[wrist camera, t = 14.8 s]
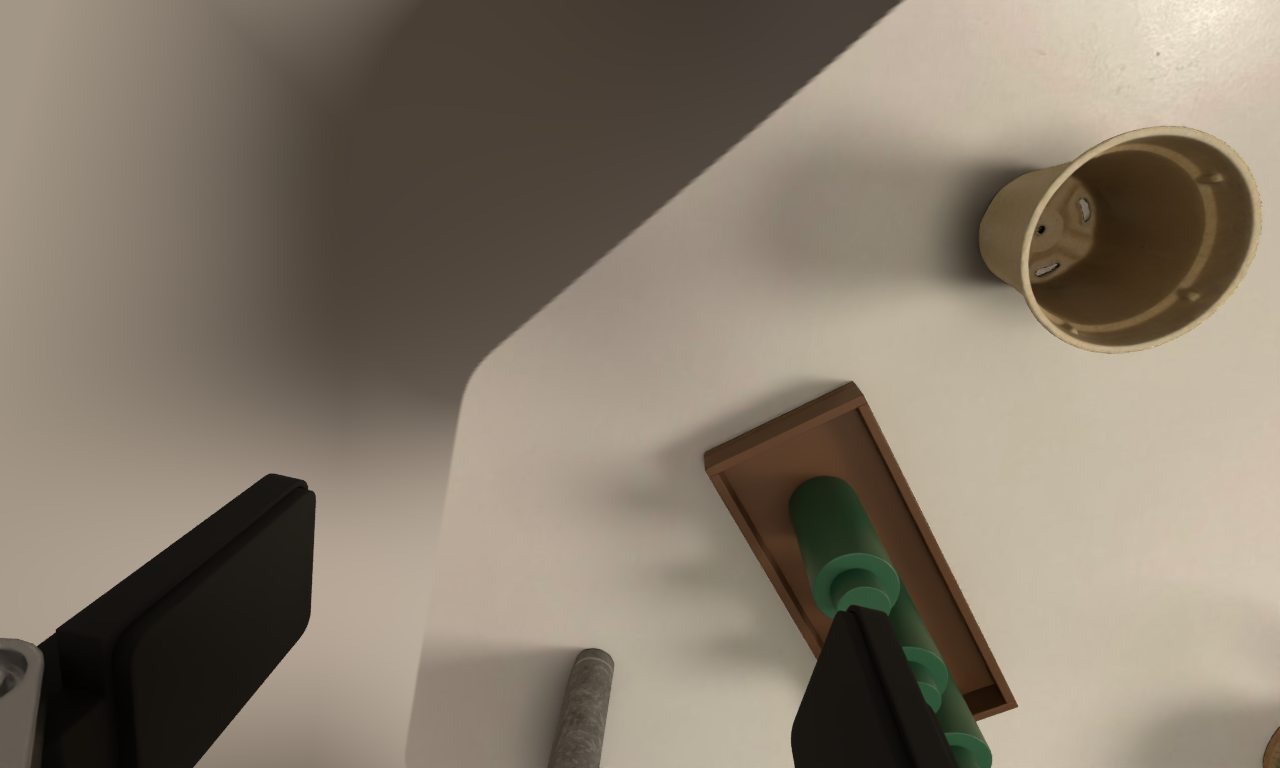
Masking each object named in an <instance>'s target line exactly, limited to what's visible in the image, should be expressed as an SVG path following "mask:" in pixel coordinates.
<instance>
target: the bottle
mask: <svg viewBox="0 0 1280 768" xmlns="http://www.w3.org/2000/svg"><path fill="white" fill-rule="evenodd" d="M789 514H790V518H791V521H792V525H793V528H794V532H795V535H796V539H797V542H798V546H799V549H800V553H801V556H802V560H803V563H804V567H805V570H806V573H807V577H808V580H809V584H810V587H811V591H812V594H813V598H814V601H815V603H816V605H817V606H818V608H819V609H820V610H821V611H822V612H823V613H824V614H825V615H826V616H828V617H829V618H831V619H834V617H835V615H836V613H837V612H838V611H840V610H841V611H846V610H847V608H848V607H849V606H850V605H858V606H862V607H867V608H871V609H875V610H880V611H883V612H885V613H886V614H887V615H888V616H889V614H890V610H891V608H892V607H893V606H894V604H895V602H896V601H897V598H898V596H899V591H900V581H899V577H898V574H897V572H896V570H895V568H894V566H893V564H892V562H891V560H890V558H889V556H888V554H887V552H886V550H885V548H884V546H883V545H882V543H881V541H880V539H879V537H878V535H877V533H876V531H875V529H874V527H873V525H872V523H871V521H870V519H869V517H868V515H867V513H866V511H865V509H864V507H863V505H862V503H861V501H860V499H859V497H858V496H857V494H856V492H855V490H854V489H853V488H852V486H850V485H849V484H848V483H847V482H845V481H843V480H841V479H839V478H836V477H831V476H820V477H815V478H812V479H809V480H807V481H805V482H804V483H802V484H801V485H800V486H799V487H798V488H797V489H796V490H795V491H794V493H793V494H792V496H791V499H790V502H789Z"/></svg>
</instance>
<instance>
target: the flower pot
mask: <svg viewBox="0 0 1280 768" xmlns="http://www.w3.org/2000/svg"><path fill="white" fill-rule="evenodd" d="M1083 198H1084V199H1085V201H1086V202H1087V203H1088V205H1089V210H1090V215H1089V219H1088V220H1087V221H1084V217H1083V213H1082V208H1081V205H1080V203H1079V201H1080V200H1081V199H1083ZM1261 203H1262V202H1261V200H1260V195H1259V192H1258V188H1257V185H1256V182H1255V179H1254V177H1253V175H1252V173H1251V171H1250V169H1249V167H1248V166H1247V165H1246V163H1245V162H1244V160H1243V159H1242V158H1241V157H1240V156H1239V155H1238V153H1236V152H1235V150H1233V149H1232V148H1231V147H1230V146H1228V145H1227V144H1226V143H1225V142H1223V141H1222V140H1220V139H1218V138H1216V137H1214V136H1212V135H1210V134H1207V133H1205V132H1202V131H1199V130H1195V129H1192V128H1187V127H1179V126H1160V127H1149V128H1142V129H1139V130H1134V131H1130V132H1126V133H1123V134H1120V135H1117V136H1115V137H1112V138H1110V139H1108V140H1105V141H1103V142H1101V143H1099V144H1098V145H1096V146H1094V147H1092V148H1091V149H1089V150H1087V151H1086V152H1084V153H1083V154H1081V155H1080V156H1079V157H1077V158H1076V159H1075V160H1073V161H1072V162H1068V163H1064V164H1061V165H1057V166H1053V167H1049V168H1046V169H1042V170H1037V171H1033V172H1030V173H1027V174H1024V175H1022V176H1020V177H1018V178H1016V179H1015V180H1013V181H1011V182H1010V183H1009V184H1007V185H1006V186H1005V187H1003V188H1002V189H1001V190H1000V191H999V192H998V193H997V194H996V196H995V197H994V199H993V200H992V202H991V204H990V205H989V207H988V209H987V211H986V213H985V214H984V217H983V219H982V221H981V223H980V228H979V247H980V252H981V255H982V258H983V260H984V262H985V263H986V265H987V266H988V268H989V269H990V270H991V271H992V272H993V273H994V274H995V275H996V276H997V277H998V278H1000V279H1001V280H1003V281H1004V282H1006V283H1008V284H1009V285H1011V286H1012V287H1013V288H1015V289H1016V290H1017V291H1019V292H1020V293H1021V294H1023V295H1024V298H1025V301H1026V303H1027V305H1028V307H1029V309H1030V310H1031V312H1032V313H1033V315H1034V316H1035V318H1036V319H1037V320H1038V321H1039V322H1040V324H1041V325H1042V326H1043V327H1044V328H1045V329H1047V330H1048V331H1049V332H1050V333H1051V334H1053V335H1054V336H1056V337H1057V338H1059V339H1061V340H1062V341H1064V342H1066V343H1068V344H1070V345H1073V346H1075V347H1078V348H1081V349H1084V350H1087V351H1092V352H1099V353H1108V354H1116V353H1127V352H1135V351H1141V350H1144V349H1148V348H1152V347H1156V346H1159V345H1161V344H1164V343H1166V342H1168V341H1171V340H1173V339H1175V338H1177V337H1179V336H1181V335H1183V334H1185V333H1187V332H1189V331H1191V330H1192V329H1194V328H1195V327H1196V326H1198V325H1200V324H1201V323H1202V322H1203V321H1205V320H1206V319H1208V318H1209V317H1210V316H1212V315H1213V314H1214V313H1215V312H1216V311H1217V309H1218V308H1219V307H1220V306H1222V305H1223V304H1224V303H1225V301H1226V300H1227V299H1228V298H1229V297H1230V296H1231V295H1232V294H1233V293H1234V291H1235V289H1236V288H1237V287H1238V285H1239V284H1240V283H1241V281H1242V279H1243V278H1244V276H1245V275H1246V272H1247V271H1248V269H1249V266H1250V264H1251V262H1252V260H1253V259H1254V257H1255V253H1256V251H1257V246H1258V243H1259V238H1260V235H1261V229H1262V208H1261V207H1262V205H1261ZM1040 226H1043V227H1044V228H1045V230H1044V232H1043V233H1042V234H1040V233H1038V231H1037V229H1038V228H1039V227H1040ZM1055 263H1058V264H1059V267H1056V268H1055V269H1054V270H1053V271H1051V272H1049V273H1047V274H1045V275H1042V276H1037V275H1036V273H1037V270H1038V269H1040V268H1045V267H1048V266H1050V265H1052V264H1055Z"/></svg>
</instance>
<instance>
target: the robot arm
mask: <svg viewBox="0 0 1280 768" xmlns="http://www.w3.org/2000/svg"><path fill="white" fill-rule="evenodd" d="M315 507H316V496H315V493H314V492H313V491H310V490H308V485H307V483H306V482H305V481H304V480H300V479H296V478H291V477H287V476H283V475H278V474H268V475H266V476H265V477H263V478H262V479H260V480H259V481H258V482H256V483H255V484H254V485H252V486H251V487H250V488H248V489H247V490H245V491H244V492H243V493H241V494H240V495H239V496H238V497H236V498H235V499H233V500H232V501H230V502H229V503H228V504H226V505H225V506H224V507H222V508H221V509H219V510H218V511H217V512H216V513H214V514H213V515H211V516H210V517H209V518H208V519H206V520H204V521H203V522H202V523H200V524H199V525H198V526H196V527H195V528H194V529H192V530H191V531H189V532H188V533H187V534H185V535H184V536H183V537H182V538H180V539H179V540H177V541H176V542H174V543H173V544H172V545H170V546H169V547H168V548H166V549H165V550H164V551H162V552H161V553H159V554H158V555H157V556H156V557H154V558H153V559H151V560H150V561H149V562H147V563H146V564H145V565H143V566H142V567H141V568H139V569H138V570H136V571H135V572H134V573H132V574H131V575H130V576H128V577H127V578H126V579H124V580H123V581H121V582H120V583H119V584H117V585H116V586H115V587H113V588H112V589H110V590H109V591H108V592H107V593H105V594H104V595H102V596H101V597H99V598H98V599H97V600H95V601H94V602H93V603H91V604H90V605H89V606H87V607H86V608H84V609H83V610H82V611H80V612H79V613H78V614H76V615H75V616H74V617H72V618H71V619H70V620H68V621H67V622H65V623H64V624H63V625H61V626H60V627H59V628H57V629H56V633H54V634H53V635H52V636H50V637H49V638H48V639H46V640H45V641H44V642H42V643H41V644H39V645H38V646H37V647H36V646H35V645H34V644H32V643H29V642H26V641H23V640H20V639H6V638H0V768H193V767H194V766H195V765H196V763H197V762H198V761H199V760H200V759H201V758H202V756H203V755H204V754H205V753H206V752H207V750H208V749H209V748H210V747H211V745H212V744H213V743H214V742H215V741H216V739H217V738H218V737H219V736H220V734H221V733H222V732H223V731H224V730H225V728H226V727H227V726H228V725H229V724H230V722H231V721H232V720H233V719H234V718H235V716H236V715H237V714H238V713H239V711H240V710H241V709H242V708H243V706H244V705H245V704H246V703H247V702H248V700H249V699H250V698H251V697H252V696H253V694H254V693H255V692H256V691H257V690H258V688H259V687H260V686H261V685H262V684H263V682H264V681H265V680H266V679H267V677H268V676H269V675H270V674H271V673H272V671H273V670H274V669H275V668H276V666H277V665H278V664H279V663H280V662H281V660H282V659H283V658H284V657H285V656H286V654H287V653H288V652H289V651H290V649H291V648H292V647H293V646H294V645H295V643H296V642H297V641H298V640H299V639H300V637H301V636H302V634H303V633H304V631H305V629H306V627H307V625H308V622H309V619H310V613H311V593H312V571H313V549H314V529H315ZM791 747H792V753H793V759H794V765H795V768H960V767H959V765H958V763H957V761H956V759H955V756H954V754H953V752H952V750H951V747H950V745H949V743H948V741H947V739H946V736H945V734H944V732H943V730H942V727H941V725H940V723H939V721H938V718H937V716H936V714H935V712H934V711H933V709H932V707H931V706H930V705H929V704H928V703H926V701H925V699H924V696H923V694H922V692H921V689H920V687H919V685H918V683H917V680H916V678H915V676H914V674H913V671H912V669H911V667H910V664H909V662H908V660H907V658H906V655H905V653H904V651H903V649H902V646H901V644H900V642H899V640H898V637H897V635H896V633H895V630H894V628H893V626H892V624H891V621H890V619H889V617H888V615H887V614H886V613H885V612H883V611H880V610H875V609H871V608H867V607H862V606H858V605H850V606H849V607H848V608H847V610H846V611H841V610H840V611H838V612H837V613H836V615H835V617H834V619H833V622H832V624H831V627H830V630H829V632H828V635H827V637H826V640H825V642H824V645H823V648H822V650H821V653H820V655H819V658H818V661H817V663H816V666H815V668H814V671H813V673H812V676H811V679H810V681H809V684H808V686H807V689H806V692H805V694H804V697H803V699H802V702H801V704H800V707H799V710H798V712H797V715H796V717H795V720H794V723H793V726H792V732H791Z"/></svg>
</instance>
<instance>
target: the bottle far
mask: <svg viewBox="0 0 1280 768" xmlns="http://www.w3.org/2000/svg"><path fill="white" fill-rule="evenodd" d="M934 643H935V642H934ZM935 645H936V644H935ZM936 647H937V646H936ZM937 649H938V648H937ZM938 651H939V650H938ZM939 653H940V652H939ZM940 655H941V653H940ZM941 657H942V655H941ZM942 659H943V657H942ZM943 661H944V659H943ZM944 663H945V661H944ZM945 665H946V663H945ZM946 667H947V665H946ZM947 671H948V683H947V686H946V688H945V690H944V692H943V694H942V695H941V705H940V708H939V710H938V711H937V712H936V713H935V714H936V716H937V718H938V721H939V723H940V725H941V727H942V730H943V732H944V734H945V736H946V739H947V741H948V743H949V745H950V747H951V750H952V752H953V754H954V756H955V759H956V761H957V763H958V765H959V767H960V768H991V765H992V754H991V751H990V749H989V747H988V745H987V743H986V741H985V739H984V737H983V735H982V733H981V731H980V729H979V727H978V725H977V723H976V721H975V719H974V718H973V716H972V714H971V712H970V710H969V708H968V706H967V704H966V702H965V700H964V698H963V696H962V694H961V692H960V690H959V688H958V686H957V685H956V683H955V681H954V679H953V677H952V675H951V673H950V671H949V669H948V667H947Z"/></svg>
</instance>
